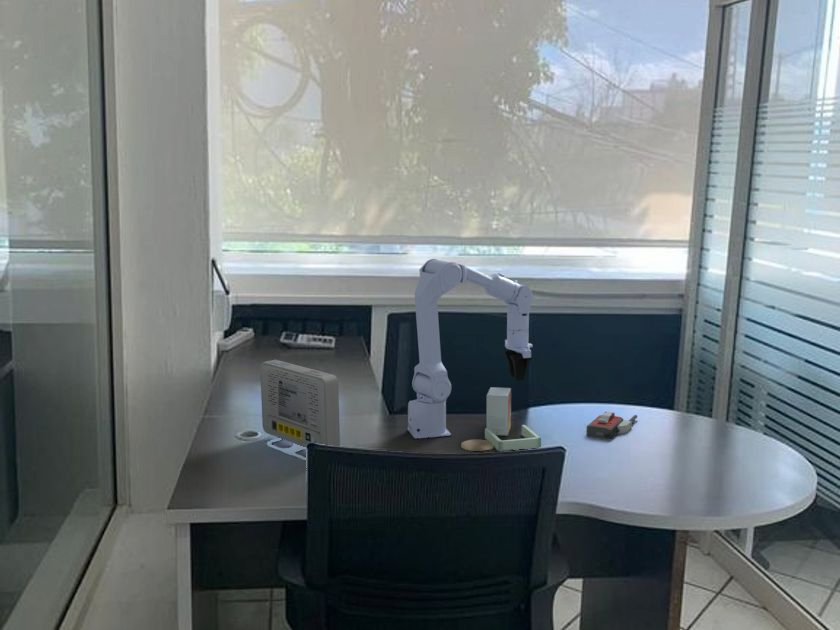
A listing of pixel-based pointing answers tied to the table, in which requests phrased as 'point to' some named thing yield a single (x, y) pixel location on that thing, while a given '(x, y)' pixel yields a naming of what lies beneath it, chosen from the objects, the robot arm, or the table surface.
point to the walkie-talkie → (608, 426)
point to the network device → (299, 404)
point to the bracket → (515, 440)
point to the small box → (499, 410)
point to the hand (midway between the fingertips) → (517, 378)
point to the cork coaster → (477, 445)
